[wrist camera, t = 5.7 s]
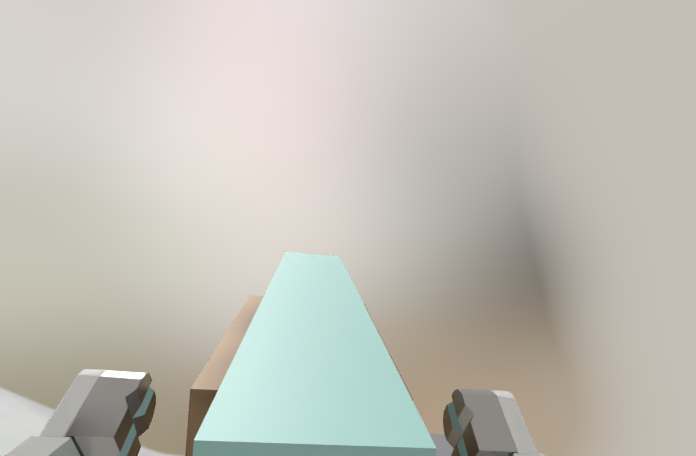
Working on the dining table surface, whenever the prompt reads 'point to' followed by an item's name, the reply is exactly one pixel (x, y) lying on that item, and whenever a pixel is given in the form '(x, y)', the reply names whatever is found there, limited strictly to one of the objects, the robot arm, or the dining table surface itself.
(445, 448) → the low block
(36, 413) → the dining table surface
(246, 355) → the beam
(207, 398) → the pedestal
